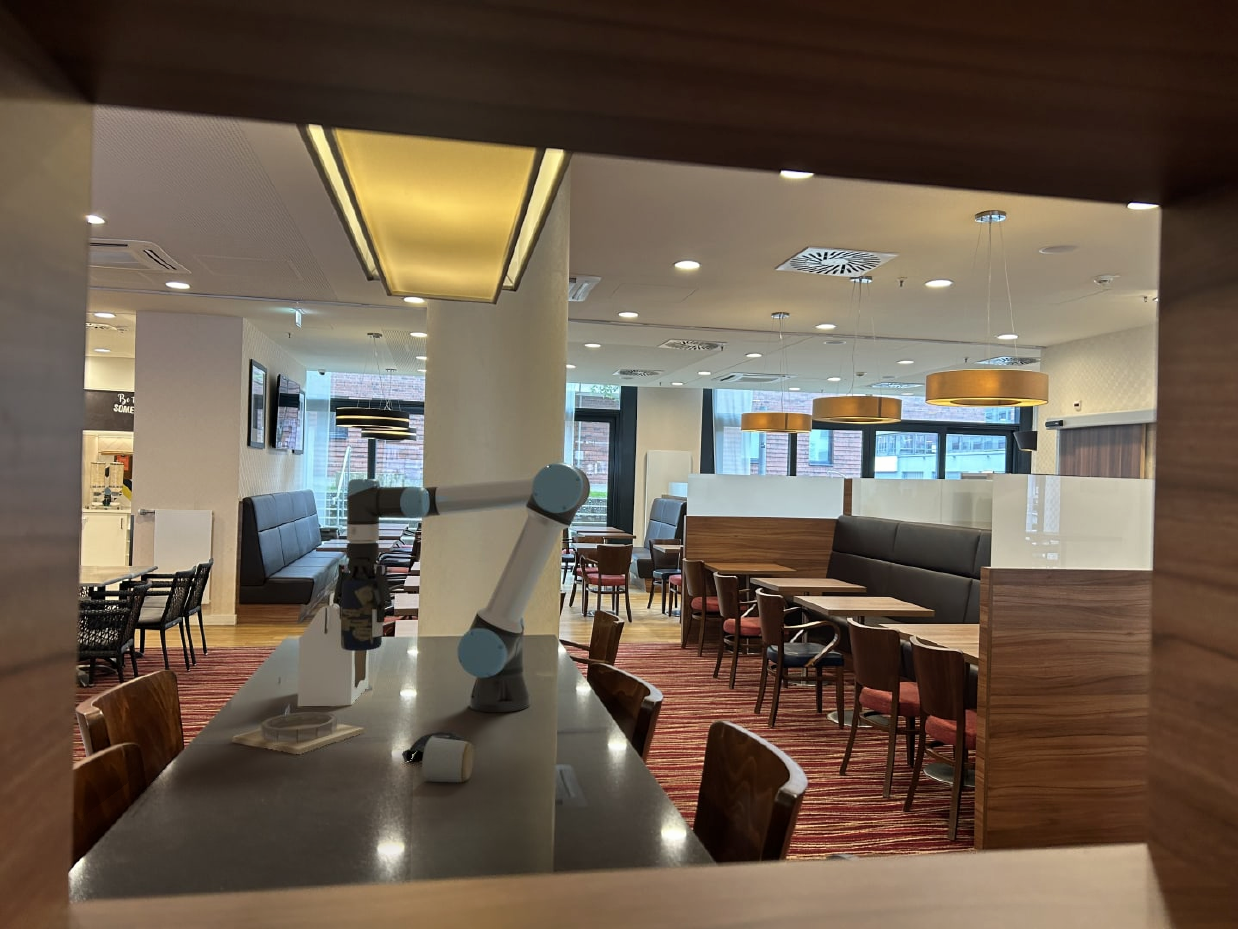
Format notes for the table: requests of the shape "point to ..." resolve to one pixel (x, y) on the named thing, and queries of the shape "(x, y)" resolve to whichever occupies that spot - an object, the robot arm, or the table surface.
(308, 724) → the ring holder board
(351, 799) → the table surface
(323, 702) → the gable box
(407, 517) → the robot arm
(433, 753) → the ceramic mug
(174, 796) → the table surface
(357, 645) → the canister
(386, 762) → the table surface
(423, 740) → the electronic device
